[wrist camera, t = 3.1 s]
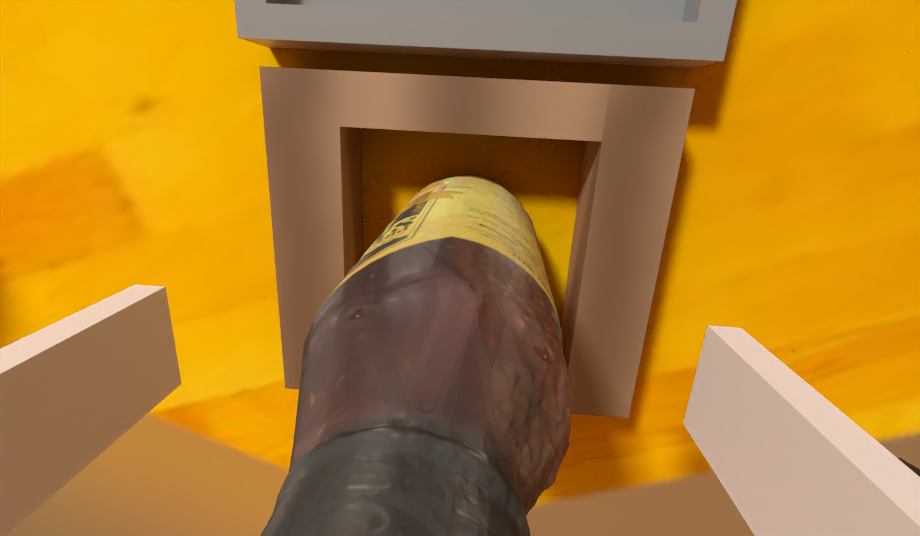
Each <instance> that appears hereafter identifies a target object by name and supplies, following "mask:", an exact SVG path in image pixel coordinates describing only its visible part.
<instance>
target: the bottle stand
mask: <svg viewBox="0 0 920 536" xmlns="http://www.w3.org/2000/svg"><path fill="white" fill-rule="evenodd" d="M259 67H260V79H261V92H262V104H263V116H264V129H265V141H266V154H267V166H268V179H269V191H270V203H271V216H272V228H273V241H274V253H275V265H276V278H277V290H278V303H279V315H280V328H281V340H282V352H283V365H284V377H285V388H289V389H299V388H300V378H301V368H302V354H303V347H304V341H305V339H306V336H307V333H308V331H309V328H310V325H311V323H312V321H313V319H314V318H315V316H316V314H317V313H318V311H319V309H320V308H321V306H322V305H323V304H324V302H325V301H326V300H327V299H328V297H329V296H330V295H331V294H332V292H333V291H334V289H335V287H336V286H337V285H338V284H339V283H340V282H341V281H342V280H343V279H344V278H345V277H346V275H347V274H348V272H349V271H350V270H351V268H352V267H354V266H355V265H356V264H357V263H358V261H359V260H360V259H361V258H362V256H363V208H362V145H361V128H373V129H391V130H408V131H425V132H443V133H460V134H477V135H495V136H512V137H530V138H547V139H564V140H582V141H586V145H585V152H584V160H583V167H582V175H581V182H580V189H579V197H578V204H577V211H576V219H575V226H574V233H573V241H572V248H571V255H570V263H569V270H568V278H567V285H566V292H565V300H564V307H563V314H562V322H561V332H562V349H563V350H562V351H563V355H564V357H565V361H566V365H567V370H568V375H569V380H570V384H571V389H570V390H571V402H572V403H571V412H570V413H575V414H587V415H598V416H610V417H621V418H629V413H630V408H631V404H632V399H633V394H634V389H635V384H636V379H637V374H638V369H639V364H640V359H641V354H642V349H643V344H644V339H645V334H646V329H647V325H648V320H649V315H650V310H651V305H652V300H653V295H654V290H655V285H656V280H657V275H658V270H659V265H660V260H661V255H662V250H663V246H664V241H665V236H666V231H667V226H668V221H669V216H670V211H671V206H672V201H673V196H674V191H675V186H676V181H677V176H678V171H679V167H680V162H681V157H682V152H683V147H684V142H685V137H686V132H687V127H688V122H689V117H690V112H691V107H692V102H693V97H694V92H695V89H692V88H672V87H653V86H633V85H614V84H594V83H575V82H555V81H536V80H517V79H497V78H478V77H458V76H439V75H419V74H400V73H380V72H361V71H341V70H322V69H302V68H283V67H263V66H259Z"/></svg>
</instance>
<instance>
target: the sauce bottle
mask: <svg viewBox="0 0 920 536" xmlns="http://www.w3.org/2000/svg"><path fill="white" fill-rule="evenodd" d="M562 350H563V349H562V332H561V327H560V322H559V318H558V314H557V311H556V307H555V303H554V300H553V296H552V292H551V289H550V285H549V281H548V278H547V274H546V271H545V267H544V263H543V259H542V256H541V252H540V248H539V245H538V241H537V238H536V234H535V230H534V227H533V223H532V221H531V219H530V217H529V215H528V213H527V212H526V211H525V209H524V207H523V206H522V204H521V203H520V202H519V201H518V199H517V198H516V197H515V196H513V195H512V194H511V193H510V192H509V191H507V190H506V189H505V188H503V187H502V186H501V185H499V184H497V183H495V182H494V181H492V180H490V179H487V178H485V177H482V176H476V175H469V174H466V175H461V176H455V177H451V178H446V179H443V180H440V181H437V182H434V183H431V184H429V185H428V186H426V187H425V188H423V189H422V190H421V191H419V192H418V193H417V194H416V195H415V196H414V197H413V198H412V199H411V200H410V201H409V202H408V204H407V205H406V206H405V207H404V208H403V209H402V211H401V212H400V213H399V214H398V215H397V216H396V218H395V219H394V220H393V221H392V222H391V223H390V224H389V225H388V226H387V227H386V229H385V230H384V232H383V233H382V234H381V235H380V236H379V237H378V239H377V240H376V241H375V242H374V243H373V244H372V245H371V246H370V247H369V249H368V250H367V251H366V252H365V253H364V254H363V256H362V258H361V259H360V260H359V261H358V263H357V264H356V265H355V266H354V267H352V268H351V270H350V271H349V272H348V274H347V275H346V277H345V278H344V279H343V280H342V281H341V282H340V283H339V284H338V285H337V286H336V287H335V289H334V291H333V292H332V294H331V295H330V296H329V297H328V299H327V300H326V301H325V302H324V304H323V305H322V306H321V308H320V309H319V311H318V313H317V314H316V316H315V318H314V319H313V321H312V323H311V325H310V328H309V331H308V333H307V336H306V339H305V341H304V347H303V354H302V368H301V378H300V388H299V397H298V406H297V416H296V425H295V434H294V443H293V450H292V456H291V462H290V469H289V474H288V476H287V477H286V480H285V481H284V483H283V486H282V488H281V490H280V492H279V495H278V497H277V501H276V505H275V509H274V512H273V514H272V516H271V518H270V520H269V522H268V524H267V526H266V527H265V529H264V531H263V532H262V534H261V536H530V530H529V526H528V523H527V519H526V515H527V514H528V512H529V511H530V510H531V509H532V507H533V506H534V505H535V503H536V501H537V499H538V497H539V496H540V495H541V493H542V492H543V491H544V490H545V489H548V488H549V487H550V486H551V485H552V484H553V483H554V481H555V479H556V474H557V471H558V468H559V466H560V463H561V461H562V459H563V457H564V455H565V453H566V450H567V448H568V446H569V434H570V412H571V403H572V402H571V390H570V389H571V384H570V380H569V375H568V370H567V365H566V361H565V357H564V355H563V351H562Z"/></svg>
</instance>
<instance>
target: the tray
mask: <svg viewBox="0 0 920 536" xmlns="http://www.w3.org/2000/svg"><path fill="white" fill-rule="evenodd" d="M234 1H235V12H236V22H237V33H238V38H240V39H244V40H247V41H250V42H253V43H256V44H260V45H263V46H266V47H272V48H292V49H313V50H333V51H353V52H374V53H394V54H414V55H435V56H455V57H475V58H496V59H516V60H536V61H557V62H577V63H597V64H618V65H638V66H658V67H679V68H698V67H702V66H706V65H710V64H714V63H718V62H723V61H724V58H725V54H726V49H727V44H728V40H729V35H730V31H731V26H732V21H733V17H734V12H735V8H736V3H737V0H234Z"/></svg>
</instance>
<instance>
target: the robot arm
mask: <svg viewBox="0 0 920 536" xmlns="http://www.w3.org/2000/svg"><path fill="white" fill-rule="evenodd" d="M180 384H181V379H180V372H179V366H178V360H177V354H176V348H175V342H174V336H173V330H172V324H171V318H170V312H169V306H168V300H167V294H166V288H165V287H163V286H149V285H133V286H131V287H129V288H127V289H125V290H123V291H121V292H118V293H116V294H114V295H112V296H110V297H108V298H106V299H104V300H102V301H100V302H97V303H95V304H93V305H91V306H89V307H87V308H85V309H83V310H81V311H79V312H76V313H74V314H72V315H70V316H68V317H66V318H64V319H62V320H60V321H58V322H55V323H53V324H51V325H49V326H47V327H45V328H43V329H41V330H39V331H37V332H34V333H32V334H30V335H28V336H26V337H24V338H22V339H20V340H18V341H16V342H14V343H11V344H9V345H7V346H5V347H3V348H1V349H0V536H7V535H8V534H9V533H10V532H12V531H13V530H14V529H15V528H16V527H17V526H19V525H20V524H21V523H22V522H23V521H24V520H25V519H27V518H28V517H29V516H30V515H31V514H32V513H33V512H35V511H36V510H37V509H38V508H39V507H40V506H42V505H43V504H44V503H45V502H46V501H47V500H48V499H50V498H51V497H52V496H53V495H54V494H55V493H56V492H58V491H59V490H60V489H61V488H62V487H63V486H64V485H65V484H67V483H68V482H69V481H70V480H71V479H72V478H74V477H75V476H76V475H77V474H78V473H79V472H80V471H82V470H83V469H84V468H85V467H86V466H87V465H88V464H90V463H91V462H92V461H93V460H94V459H95V458H97V457H98V456H99V455H100V454H101V453H102V452H103V451H105V450H106V449H107V448H108V447H109V446H110V445H111V444H113V443H114V442H115V441H116V440H117V439H118V438H120V437H121V436H122V435H123V434H124V433H125V432H126V431H127V430H129V429H130V428H131V427H132V426H133V425H134V424H136V423H137V422H138V421H139V420H140V419H141V418H142V417H144V416H145V415H146V414H147V413H148V412H149V411H150V410H152V409H153V408H154V407H155V406H156V405H157V404H159V403H160V402H161V401H162V400H163V399H164V398H165V397H167V396H168V395H169V394H170V393H171V392H172V391H173V390H175V389H176V388H177V387H178V386H179V385H180ZM683 424H684V426H685V427H686V429H687V430H688V432H689V433H690V435H691V437H692V438H693V440H694V441H695V443H696V444H697V446H698V448H699V449H700V451H701V452H702V454H703V455H704V457H705V458H706V460H707V462H708V463H709V465H710V466H711V468H712V469H713V471H714V473H715V474H716V476H717V477H718V479H719V480H720V482H721V484H722V485H723V487H724V488H725V490H726V491H727V493H728V494H729V496H730V498H731V499H732V501H733V502H734V504H735V506H736V507H737V508H738V510H739V512H740V513H741V515H742V517H743V518H744V520H745V521H746V523H747V524H748V526H749V528H750V529H751V531H752V532H753V534H754V535H755V536H920V469H918V468H916V467H915V466H913V465H911V464H909V463H907V462H906V461H904V460H903V459H901V458H896V457H895V456H894V455H893V454H892V453H890V452H889V451H888V450H887V449H886V448H884V447H883V446H882V445H881V444H880V443H878V442H877V441H876V440H875V439H874V438H872V437H871V436H870V435H869V434H868V433H866V432H865V431H864V430H863V429H862V428H860V427H859V426H858V425H857V424H856V423H854V422H853V421H852V420H851V419H850V418H848V417H847V416H846V415H845V414H844V413H842V412H841V411H840V410H839V409H838V408H836V407H835V406H834V405H833V404H832V403H830V402H829V401H828V400H827V399H826V398H824V397H823V396H822V395H821V394H820V393H818V392H817V391H816V390H815V389H814V388H812V387H811V386H810V385H809V384H808V383H806V382H805V381H804V380H803V379H802V378H800V377H799V376H798V375H797V374H796V373H794V372H793V371H792V370H791V369H790V368H788V367H787V366H786V365H785V364H784V363H782V362H781V361H780V360H779V359H778V358H776V357H775V356H774V355H773V354H772V353H770V352H769V351H768V350H767V349H766V348H764V347H763V346H762V345H761V344H760V343H758V342H757V341H756V340H755V339H754V338H752V337H751V336H750V335H749V334H748V333H747V332H745V331H744V330H743V329H742V328H735V327H721V326H708V327H707V331H706V335H705V339H704V343H703V347H702V351H701V355H700V359H699V363H698V367H697V371H696V375H695V379H694V383H693V387H692V391H691V395H690V399H689V403H688V407H687V411H686V415H685V419H684V423H683Z"/></svg>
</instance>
